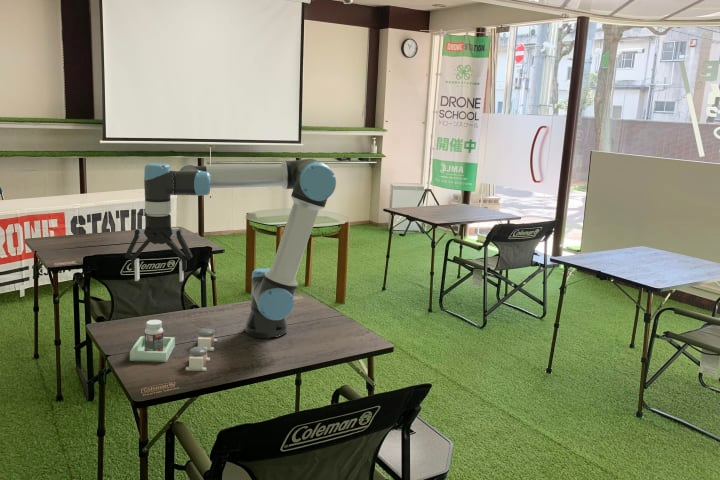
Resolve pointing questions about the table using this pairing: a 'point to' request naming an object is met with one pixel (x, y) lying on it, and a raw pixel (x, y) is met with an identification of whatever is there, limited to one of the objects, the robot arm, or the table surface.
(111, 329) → the table surface
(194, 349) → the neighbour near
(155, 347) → the pill bottle
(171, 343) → the tray
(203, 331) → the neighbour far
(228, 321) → the table surface
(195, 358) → the cream flat pieces
